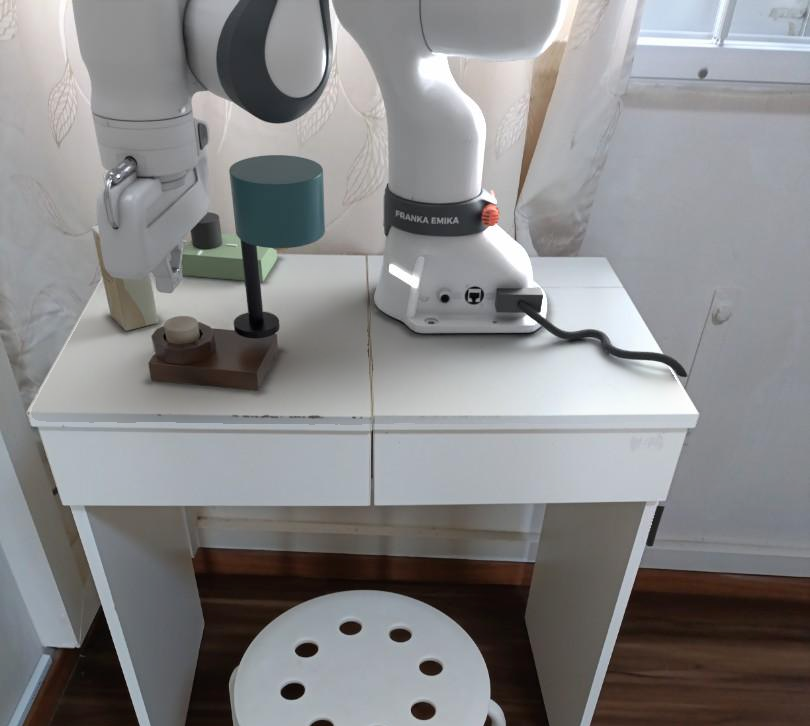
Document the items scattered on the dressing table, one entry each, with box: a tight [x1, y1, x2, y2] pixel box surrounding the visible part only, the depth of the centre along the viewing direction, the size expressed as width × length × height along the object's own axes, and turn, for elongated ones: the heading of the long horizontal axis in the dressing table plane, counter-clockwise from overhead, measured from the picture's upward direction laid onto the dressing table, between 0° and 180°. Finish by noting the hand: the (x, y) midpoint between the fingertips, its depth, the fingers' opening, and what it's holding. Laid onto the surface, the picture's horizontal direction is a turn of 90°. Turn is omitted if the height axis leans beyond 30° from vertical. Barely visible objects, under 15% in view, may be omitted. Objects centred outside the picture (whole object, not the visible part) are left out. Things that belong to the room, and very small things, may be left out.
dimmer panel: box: [181, 233, 278, 283], centre depth 109 cm, size 13×8×3 cm, turn 83°
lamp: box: [228, 154, 326, 338], centre depth 83 cm, size 10×9×17 cm
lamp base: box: [147, 321, 279, 391], centre depth 89 cm, size 12×9×4 cm
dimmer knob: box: [190, 211, 222, 249], centre depth 107 cm, size 4×4×4 cm
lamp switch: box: [163, 315, 200, 344], centre depth 87 cm, size 4×4×2 cm
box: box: [91, 225, 159, 332], centre depth 94 cm, size 5×4×11 cm
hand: (170, 287), depth 83 cm, fingers closed
